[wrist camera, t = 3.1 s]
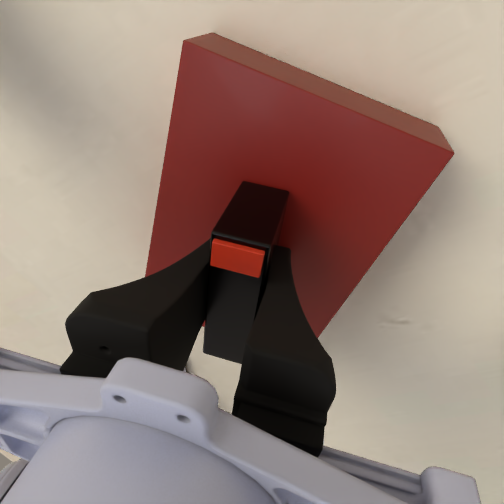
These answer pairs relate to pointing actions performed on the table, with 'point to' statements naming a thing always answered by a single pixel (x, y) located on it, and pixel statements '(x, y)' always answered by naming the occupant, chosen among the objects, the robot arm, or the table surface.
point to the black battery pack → (241, 266)
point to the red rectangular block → (290, 166)
